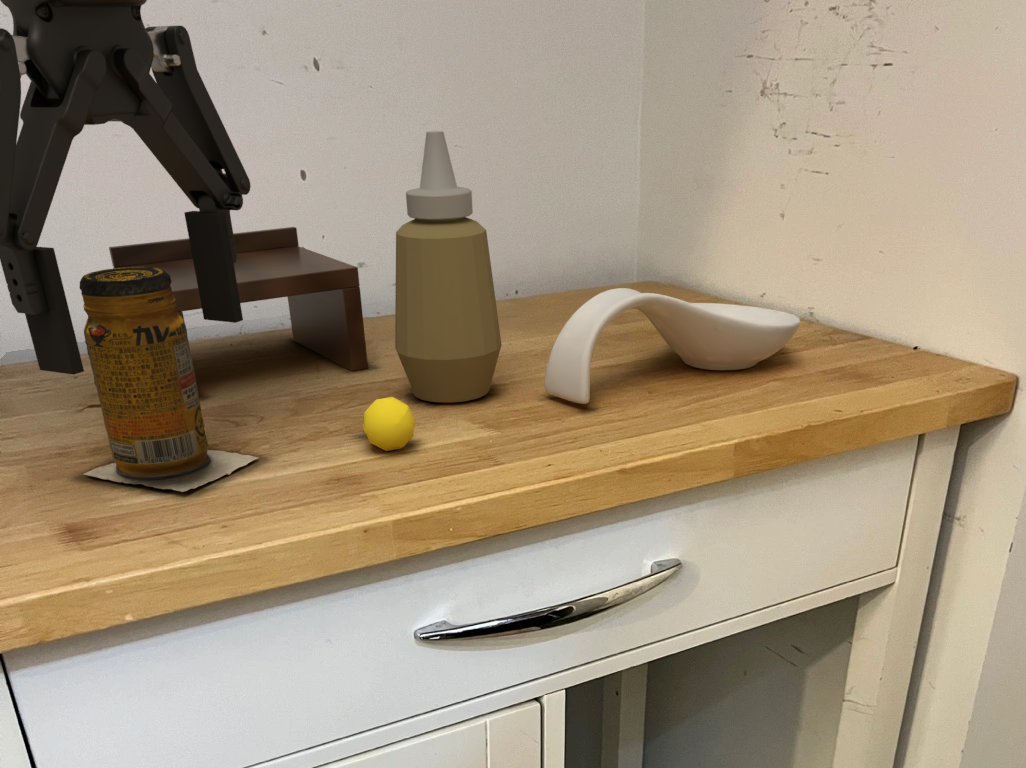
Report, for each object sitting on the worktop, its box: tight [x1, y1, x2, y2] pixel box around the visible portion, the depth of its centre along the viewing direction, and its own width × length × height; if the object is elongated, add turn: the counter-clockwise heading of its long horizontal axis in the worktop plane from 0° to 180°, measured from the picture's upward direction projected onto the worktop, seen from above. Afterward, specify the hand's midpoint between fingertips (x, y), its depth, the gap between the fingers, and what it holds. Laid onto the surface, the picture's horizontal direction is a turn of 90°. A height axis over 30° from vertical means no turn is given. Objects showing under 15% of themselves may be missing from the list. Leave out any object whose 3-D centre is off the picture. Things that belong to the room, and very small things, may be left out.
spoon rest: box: [543, 287, 801, 405], centre depth 86 cm, size 24×12×7 cm, turn 130°
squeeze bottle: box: [394, 130, 502, 404], centre depth 80 cm, size 8×8×18 cm
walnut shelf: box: [108, 226, 369, 398], centre depth 90 cm, size 16×13×10 cm
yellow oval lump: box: [362, 396, 416, 452], centre depth 74 cm, size 3×6×4 cm, turn 26°
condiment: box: [79, 267, 260, 493], centre depth 68 cm, size 7×8×12 cm
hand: (149, 344), depth 67 cm, fingers open, 13 cm apart
